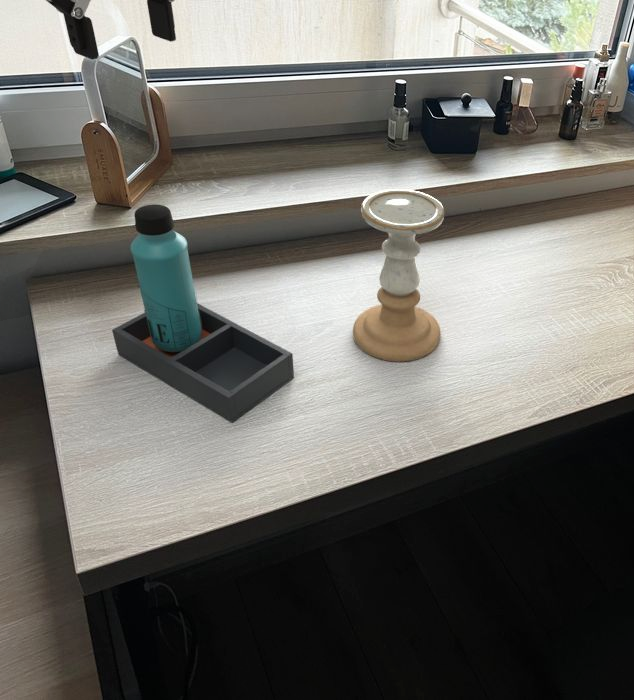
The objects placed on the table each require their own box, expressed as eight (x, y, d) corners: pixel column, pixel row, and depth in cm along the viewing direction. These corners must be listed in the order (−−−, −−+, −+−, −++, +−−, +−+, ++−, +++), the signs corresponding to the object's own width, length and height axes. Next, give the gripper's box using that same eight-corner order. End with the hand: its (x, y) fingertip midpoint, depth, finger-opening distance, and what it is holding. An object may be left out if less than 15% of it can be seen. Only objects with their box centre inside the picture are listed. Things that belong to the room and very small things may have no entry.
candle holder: (445, 362, 99) (458, 232, 86) (354, 363, 97) (354, 231, 84) (434, 309, 108) (445, 186, 96) (351, 310, 106) (351, 183, 94)
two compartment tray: (232, 423, 86) (228, 398, 83) (118, 355, 93) (111, 329, 91) (294, 377, 93) (292, 353, 91) (184, 317, 101) (179, 293, 98)
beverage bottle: (212, 335, 97) (192, 200, 85) (192, 366, 92) (168, 227, 79) (164, 328, 97) (138, 192, 85) (142, 359, 92) (110, 219, 80)
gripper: (143, -151, 75) (169, 25, 85) (-26, -150, 63) (29, 54, 73) (194, -140, 72) (214, 40, 82) (27, -137, 60) (76, 73, 70)
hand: (127, 46), depth 78 cm, fingers open, 9 cm apart
